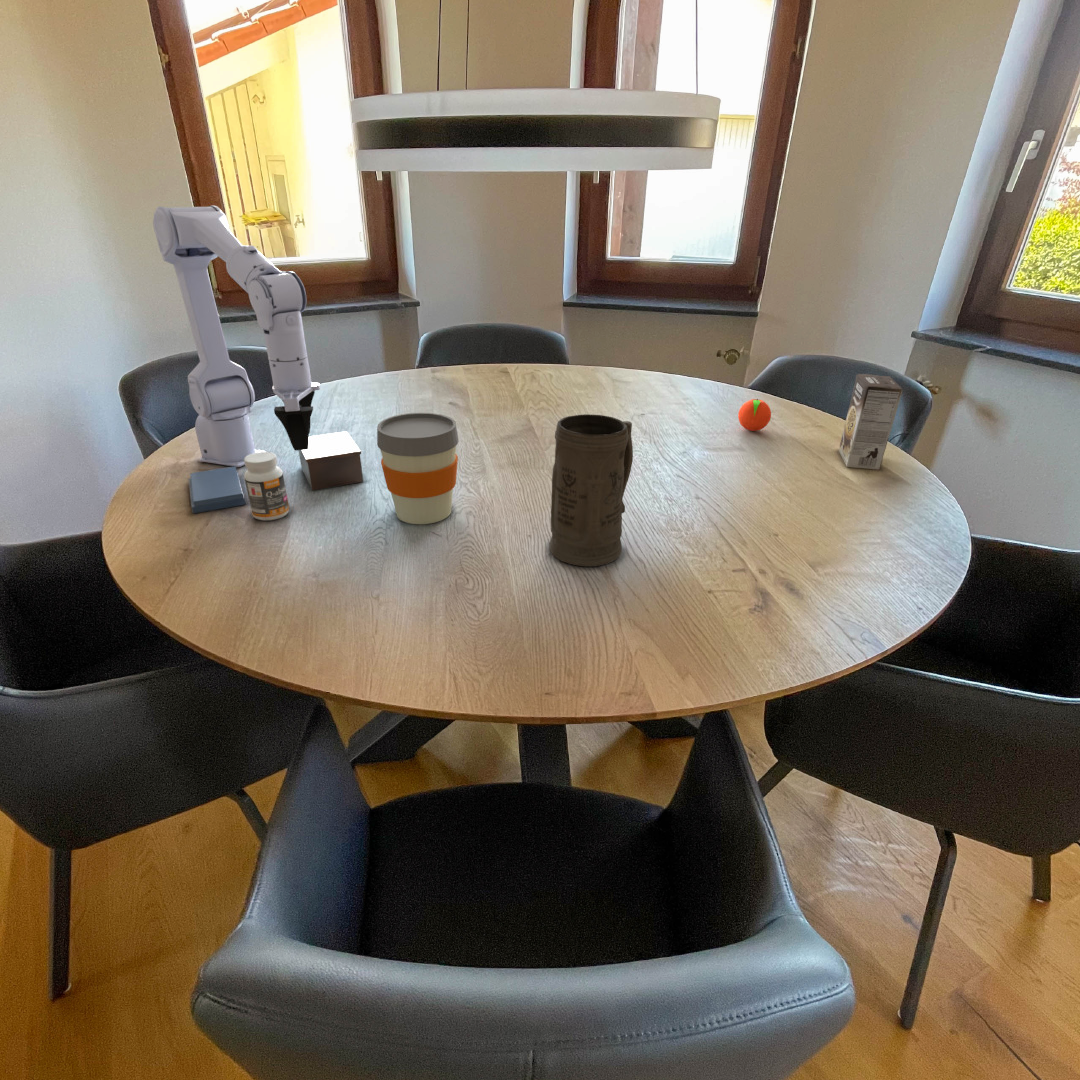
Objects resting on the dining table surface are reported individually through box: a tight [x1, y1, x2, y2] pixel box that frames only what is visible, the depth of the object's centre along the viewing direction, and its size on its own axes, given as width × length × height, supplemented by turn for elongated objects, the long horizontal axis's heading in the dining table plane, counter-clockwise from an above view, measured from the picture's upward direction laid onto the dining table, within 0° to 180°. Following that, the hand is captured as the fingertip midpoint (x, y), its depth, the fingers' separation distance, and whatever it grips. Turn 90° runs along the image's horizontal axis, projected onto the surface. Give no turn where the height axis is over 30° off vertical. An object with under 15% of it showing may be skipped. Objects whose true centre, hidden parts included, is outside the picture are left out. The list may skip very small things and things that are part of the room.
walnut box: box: [298, 431, 364, 491], centre depth 120 cm, size 9×11×6 cm
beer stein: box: [549, 413, 634, 567], centre depth 95 cm, size 15×11×20 cm
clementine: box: [737, 398, 772, 432], centre depth 145 cm, size 8×7×7 cm
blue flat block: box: [188, 466, 246, 514], centre depth 113 cm, size 8×13×2 cm, turn 27°
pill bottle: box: [243, 451, 290, 521], centre depth 105 cm, size 6×6×10 cm
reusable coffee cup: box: [376, 412, 460, 525], centre depth 105 cm, size 13×13×15 cm
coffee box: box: [838, 373, 904, 471], centre depth 128 cm, size 9×6×16 cm
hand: (302, 441), depth 108 cm, fingers open, 7 cm apart
